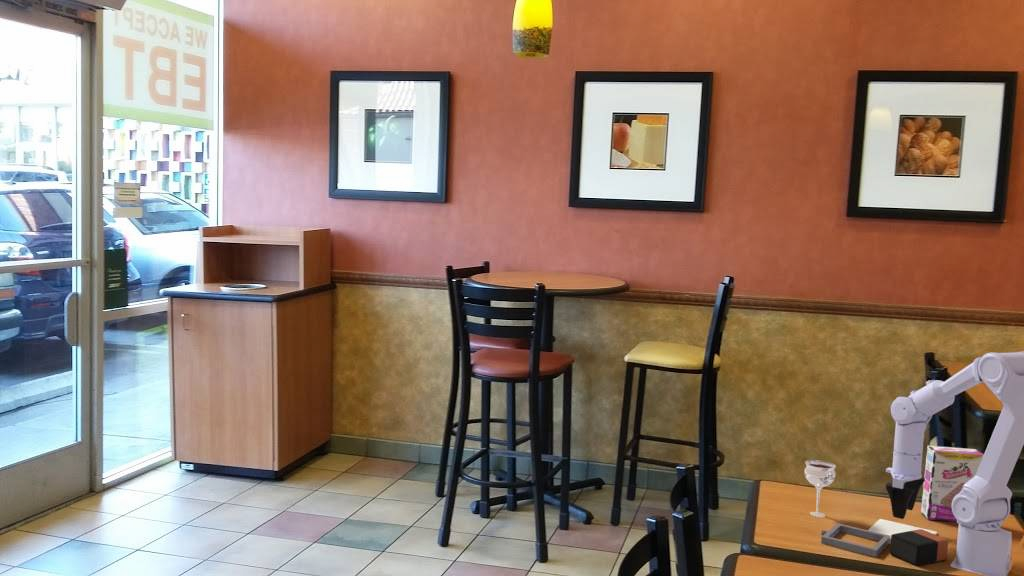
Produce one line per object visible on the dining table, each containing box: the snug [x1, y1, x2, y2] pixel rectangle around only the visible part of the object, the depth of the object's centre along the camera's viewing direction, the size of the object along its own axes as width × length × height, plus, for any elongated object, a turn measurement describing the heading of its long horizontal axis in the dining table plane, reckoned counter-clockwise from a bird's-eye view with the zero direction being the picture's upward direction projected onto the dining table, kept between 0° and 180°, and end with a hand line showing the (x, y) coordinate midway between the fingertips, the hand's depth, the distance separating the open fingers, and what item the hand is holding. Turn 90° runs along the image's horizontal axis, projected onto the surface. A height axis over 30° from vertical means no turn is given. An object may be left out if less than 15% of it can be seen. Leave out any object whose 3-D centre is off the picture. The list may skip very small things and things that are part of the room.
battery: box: [889, 529, 949, 566], centre depth 179 cm, size 4×7×10 cm
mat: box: [868, 518, 938, 541], centre depth 192 cm, size 12×12×1 cm
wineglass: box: [803, 459, 837, 518], centre depth 202 cm, size 7×7×12 cm
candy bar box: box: [920, 445, 985, 523], centre depth 203 cm, size 11×5×16 cm, turn 84°
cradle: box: [820, 523, 891, 558], centre depth 186 cm, size 12×11×2 cm
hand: (902, 513), depth 192 cm, fingers open, 7 cm apart
